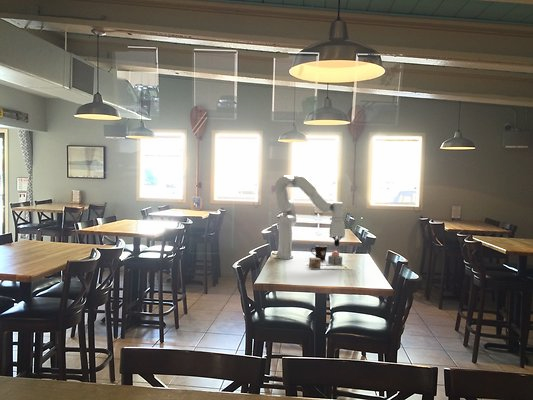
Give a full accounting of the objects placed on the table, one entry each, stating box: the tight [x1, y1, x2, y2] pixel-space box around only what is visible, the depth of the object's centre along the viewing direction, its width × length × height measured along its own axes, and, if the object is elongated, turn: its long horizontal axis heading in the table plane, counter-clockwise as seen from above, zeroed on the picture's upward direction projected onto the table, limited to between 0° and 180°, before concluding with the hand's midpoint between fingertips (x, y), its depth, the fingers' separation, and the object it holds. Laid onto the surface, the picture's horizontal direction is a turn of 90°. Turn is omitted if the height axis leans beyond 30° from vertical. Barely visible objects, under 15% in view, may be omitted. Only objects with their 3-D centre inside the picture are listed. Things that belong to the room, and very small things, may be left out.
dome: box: [331, 250, 340, 257], centre depth 307 cm, size 5×5×6 cm
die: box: [308, 257, 322, 269], centre depth 290 cm, size 6×6×6 cm
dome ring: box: [327, 254, 343, 265], centre depth 307 cm, size 9×9×5 cm
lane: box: [310, 264, 352, 271], centre depth 292 cm, size 27×15×1 cm, turn 99°
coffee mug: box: [310, 244, 328, 262], centre depth 319 cm, size 12×9×10 cm
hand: (336, 245), depth 306 cm, fingers closed
